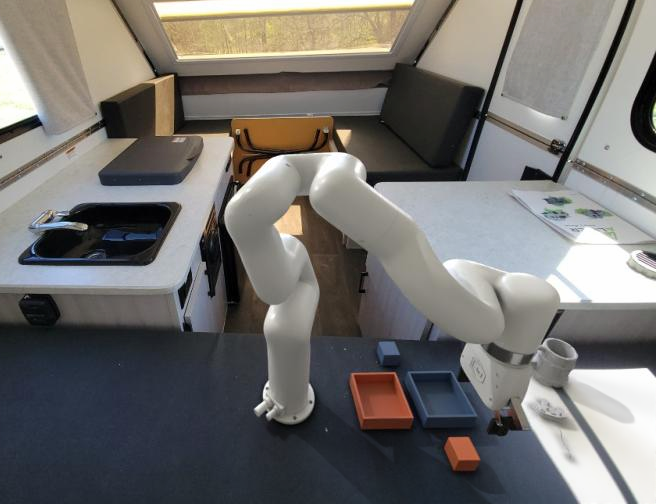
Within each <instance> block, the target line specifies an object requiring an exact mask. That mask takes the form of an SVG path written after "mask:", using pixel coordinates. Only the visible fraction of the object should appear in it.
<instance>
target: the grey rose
mask: <svg viewBox="0 0 656 504" xmlns="http://www.w3.org/2000/svg"><path fill="white" fill-rule="evenodd" d="M532 408H533V410H534V411H535V412H536V414H537V415H538V416H540V417H542V418H544V419H547V420H550V421H554V423H555V424H556V426H557V427H558V429H559V431H560V438H561V441H562V443H563V446H566V444H565V442H564V440H563V433H562V430H561V428H560V426H559V425H558V424H557V422H565V421H566V419H567V413H566V411H565V410H564V408H562V407H560V406H557V407H556V409H555V408H554V406H553V405H552V404H551V403H550V401H548V400H547V399H546V398H542V399H541V403H539V402H537V401H534V402H533V404H532ZM566 450H567V452H568V455H569V459H571V453H570V450H569V448H568V447H566Z"/></svg>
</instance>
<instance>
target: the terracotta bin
mask: <svg viewBox="0 0 656 504" xmlns="http://www.w3.org/2000/svg"><path fill="white" fill-rule="evenodd" d="M349 386H350V390H351V393H352V397H353V398H352V399H353V402H354V406H355V409H356V414H357V417H358V421H359V425H360V429H361V430H398V429H399V430H400V429H401V430H405V429H407V430H409V429H411V428H412V425H413V421H414V419H415V418H414V415H413V412H412V410H411V408H410V405H409V402H408V400H407V398H406V395H405V393H404V390H403V387H402V384H401V383H400V380H399V378H398V375H397V372H393V371H391V372H389V371H388V372H386V371H385V372H351V373H350V378H349Z"/></svg>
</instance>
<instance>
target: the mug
mask: <svg viewBox="0 0 656 504" xmlns="http://www.w3.org/2000/svg"><path fill="white" fill-rule="evenodd" d="M542 342H543V343H541V344H540V346H539V348H538V350H537V352H536V354H535V356H534V358H533V360H532V362H531V366H532V373H531V376H532V377H533V378H534V379H536V380H537V381H539V383H541V384H543V385H545V386H547V387H550V388H552V387H553V388H562V387H564V386H565V385H567V383H568V382H569V379H570V377H569V376H570V374H571V372H572V371H574V369H575V368H576V363H577V360H578V359H579V354H578V352H577V351H576V349H575V348H574V347H573V346H572V345H571V344H569V343H568V342H566V341H564V340H562V339H559V338H554V337H549V338H545V339H544V340H543V341H542Z"/></svg>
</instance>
